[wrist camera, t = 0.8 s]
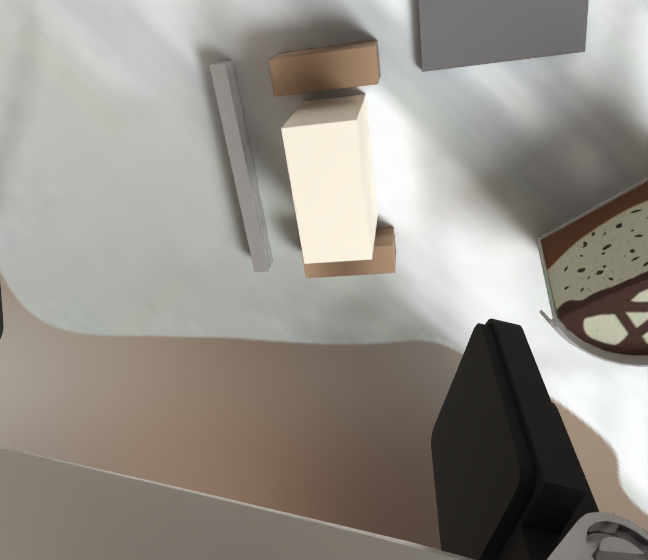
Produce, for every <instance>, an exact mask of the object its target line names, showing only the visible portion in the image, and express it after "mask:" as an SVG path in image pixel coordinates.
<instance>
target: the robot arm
mask: <svg viewBox="0 0 648 560" xmlns="http://www.w3.org/2000/svg"><path fill="white" fill-rule="evenodd" d="M2 333H3V313H2V300H1V287H0V338H1V336H2ZM431 449H432V459H433V470H434V480H435V490H436V501H437V511H438V521H439V531H440V541H441V550H438V549H434V548H430V547H426V546H423V545H419V544H416V543H412V542H408V541H404V540H399V539H395V538H391V537H387V536H382V535H378V534H374V533H370V532H366V531H361V530H357V529H353V528H349V527H345V526H341V525H336V524H332V523H328V522H323V521H319V520H315V519H311V518H307V517H302V516H298V515H294V514H290V513H285V512H281V511H277V510H272V509H268V508H264V507H260V506H256V505H251V504H247V503H243V502H239V501H234V500H230V499H226V498H221V497H218V496H213V495H209V494H205V493H201V492H196V491H192V490H188V489H184V488H179V487H175V486H171V485H166V484H162V483H158V482H153V481H149V480H145V479H140V478H136V477H132V476H127V475H123V474H118V473H114V472H110V471H106V470H101V469H97V468H93V467H88V466H84V465H80V464H75V463H70V462H66V461H62V460H58V459H53V458H48V457H44V456H40V455H36V454H32V453H27V452H23V451H18V450H13V449H10V448H5V447H1V446H0V560H648V532H647V531H646V530H645V529H643V528H641V527H640V526H638V525H636V524H635V523H633V522H631V521H630V520H627V519H625V518H622V517H620V516H617V515H615V514H610V513H604V512H599V510H598V508H597V505H596V503H595V500H594V498H593V495H592V493H591V490H590V488H589V485H588V483H587V480H586V478H585V475H584V473H583V470H582V468H581V466H580V463H579V460H578V458H577V456H576V453H575V451H574V448H573V446H572V443H571V441H570V438H569V436H568V433H567V431H566V428H565V426H564V423H563V421H562V418H561V416H560V414H559V411H558V409H557V407H556V406H555V404H554V403H552V402H551V400H550V397H549V395H548V392H547V389H546V387H545V384H544V382H543V379H542V377H541V374H540V372H539V369H538V367H537V364H536V362H535V359H534V357H533V354H532V352H531V349H530V347H529V344H528V342H527V339H526V336H525V334H524V331H523V329H522V327H521V326H520V325H517V324H512V323H508V322H504V321H500V320H495V319H489V320H488V321H487V322H486V324H485V325H484V324H480V323H478V324H477V325H476V326H475V328H474V330H473V332H472V335H471V337H470V340H469V342H468V345H467V347H466V350H465V352H464V354H463V357H462V359H461V362H460V364H459V367H458V369H457V372H456V374H455V377H454V379H453V382H452V384H451V386H450V389H449V391H448V394H447V396H446V399H445V401H444V404H443V406H442V409H441V411H440V413H439V416H438V418H437V421H436V423H435V426H434V429H433V432H432V438H431Z"/></svg>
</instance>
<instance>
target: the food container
mask: <svg viewBox="0 0 648 560" xmlns="http://www.w3.org/2000/svg"><path fill="white" fill-rule="evenodd" d="M536 240H537V245H538V249H539V254H540V259H541V264H542V269H543V273H544V278H545V283H546V288H547V292H548V297H549V302H550V307H551V312H552V316H553V319H550V318H549V317H548V316H547V315H546V314H545V313H544V312H543V311H542V310H541V311H540V313H541V314H542V316H543V317H544V318H545V319H546V320H547V321H548V323H549V324H550V325H551V326H552V327H553V328H554V329H555V330H556V332H557V333H558V334H559V335H561V336H562V337H563V338H564V339H565V340H567V341H568V342H569V343H570V344H572V345H574V346H575V347H577V348H579V349H580V350H582V351H584V352H586V353H588V354H589V355H592V356H594V357H597V358H599V359H602V360H604V361H608V362H612V363H616V364H620V365H628V366H637V367H648V177H647V178H645V179H643V180H641V181H639V182H638V183H636V184H634V185H632V186H630V187H629V188H627V189H625V190H623V191H621V192H620V193H618V194H616V195H614V196H613V197H611V198H609V199H607V200H605V201H604V202H602V203H600V204H598V205H596V206H595V207H593V208H591V209H589V210H587V211H586V212H584V213H582V214H580V215H578V216H577V217H575V218H573V219H571V220H570V221H568V222H566V223H564V224H562V225H561V226H559V227H557V228H555V229H553V230H552V231H550V232H548V233H546V234H544V235H543V236H541V237H539V238H537V239H536Z"/></svg>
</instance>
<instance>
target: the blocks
mask: <svg viewBox="0 0 648 560" xmlns="http://www.w3.org/2000/svg"><path fill="white" fill-rule="evenodd" d="M268 61H269V67H270V72H271V78H272V84H273V90H274V96H283V95H291V94H300V93H308V92H316V91H324V90H332V89H341V88H349V87H357V86H365V85H373V84H378V82H379V78H380V65H379V54H378V43H377V40H374V41H366V42H359V43H352V44H344V45H337V46H330V47H322V48H315V49H308V50H300V51H293V52H286V53H279V54H277V55H276V56H274V57H273V58H271V59H269V60H268ZM209 67H210V72H211V76H212V81H213V85H214V90H215V95H216V99H217V104H218V108H219V113H220V117H221V122H222V126H223V131H224V135H225V140H226V145H227V149H228V154H229V158H230V163H231V167H232V172H233V176H234V181H235V186H236V190H237V195H238V199H239V204H240V208H241V213H242V217H243V222H244V226H245V231H246V236H247V240H248V245H249V249H250V254H251V258H252V263H253V267H254V272H265V271H268V270H269V268H270V266H271V264H272V262H273V260H272V255H271V250H270V245H269V240H268V235H267V230H266V225H265V220H264V215H263V210H262V205H261V200H260V195H259V190H258V185H257V180H256V175H255V170H254V165H253V160H252V155H251V150H250V145H249V140H248V135H247V130H246V125H245V120H244V115H243V110H242V105H241V100H240V95H239V90H238V85H237V80H236V75H235V70H234V65H233V60H227V61H219V62H216V63H214V64H211V65H209ZM302 257H303V252H302ZM395 262H396V248H395V236H394V227H385V228H376V232H375V240H374V248H373V255H372V259H371V260H356V261H340V262H325V263H310V264H304V269H305V275H306V278H317V277H333V276H350V275H367V274H383V273H395ZM303 263H304V258H303Z"/></svg>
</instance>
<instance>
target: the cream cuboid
mask: <svg viewBox="0 0 648 560" xmlns="http://www.w3.org/2000/svg"><path fill="white" fill-rule="evenodd" d="M281 131H282V137H283V142H284V148H285V154H286V160H287V166H288V171H289V177H290V183H291V189H292V195H293V200H294V206H295V212H296V218H297V224H298V229H299V235H300V241H301V247H302V252H303V258H304V264H310V263H325V262H340V261H356V260H371V259H372V255H373V248H374V240H375V232H376V225H377V217H378V211H377V201H376V191H375V181H374V171H373V161H372V151H371V141H370V131H369V121H368V111H367V101H366V94H362V95H354V96H345V97H337V98H329V99H320V100H312V101H303V102H302V103H301V104H300V106H299V107H298V108H297V109H296V111H295V112H294V113H293V114H292V116H291V117H290V118H289V119H288V120H287V122H286V123H285V124H284V125H283V127H282V128H281Z"/></svg>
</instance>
